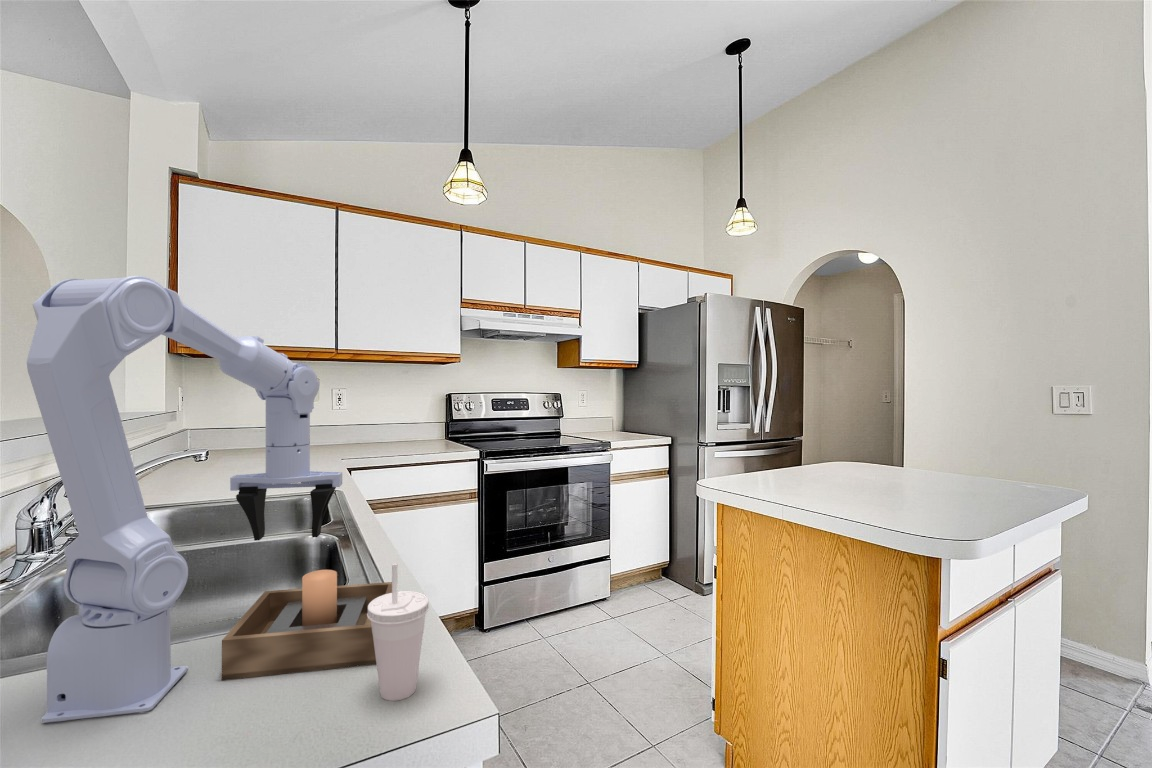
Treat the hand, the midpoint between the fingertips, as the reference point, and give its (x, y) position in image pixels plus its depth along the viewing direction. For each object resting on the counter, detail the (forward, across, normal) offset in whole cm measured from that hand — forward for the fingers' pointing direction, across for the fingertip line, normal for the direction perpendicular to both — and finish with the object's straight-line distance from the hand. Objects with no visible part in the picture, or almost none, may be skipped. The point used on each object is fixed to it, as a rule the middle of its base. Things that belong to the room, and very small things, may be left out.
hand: (288, 536), depth 79 cm
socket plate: (+10, -7, +12) cm, 17 cm away
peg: (+10, -7, +12) cm, 17 cm away
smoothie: (+11, -18, +25) cm, 33 cm away
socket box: (+10, -7, +12) cm, 17 cm away
